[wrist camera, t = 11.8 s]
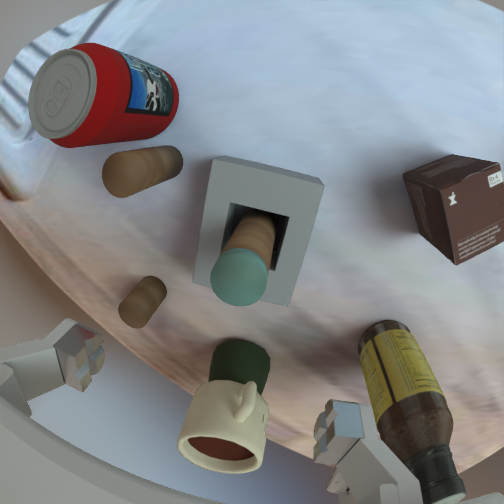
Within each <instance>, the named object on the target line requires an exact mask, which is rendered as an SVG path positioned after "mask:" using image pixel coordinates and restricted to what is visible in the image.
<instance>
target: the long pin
mask: <svg viewBox="0 0 504 504" xmlns="http://www.w3.org/2000/svg"><path fill="white" fill-rule="evenodd" d="M276 228H277V218H276V216H275V214H274V213H272V212H268V211H264V210H260V209H256V208H250V209H248V210H247V211H246V213H245V214H244V216H243V217H242V219H241V221H240V222H239V224H238V226H237V227H236V229H235V231H234V233H233V234H232V236H231V238H230V239H229V241H228V243H227V244H226V246H225V248H224V249H223V251H222V253H221V255H220V256H219V258H218V260H217V261H216V263H215V265H214V266H213V268H212V271H211V274H210V283H211V286H212V289H213V291H214V292H215V294H216V295H217V296H218V297H219V298H220V299H221V300H223V301H224V302H226V303H228V304H231V305H235V306H247V305H250V304H253V303H255V302H256V301H258V300H259V299H260V298H261V297H262V295H263V294H264V292H265V289H266V285H267V279H268V274H269V268H270V262H271V257H272V251H273V245H274V240H275V234H276Z"/></svg>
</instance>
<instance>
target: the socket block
mask: <svg viewBox="0 0 504 504" xmlns="http://www.w3.org/2000/svg"><path fill="white" fill-rule="evenodd" d="M323 190H324V184H323V183H322V181H321V180H320V179H319V178H316V177H313V176H309V175H305V174H301V173H298V172H294V171H290V170H286V169H282V168H278V167H274V166H269V165H265V164H261V163H256V162H252V161H248V160H243V159H238V158H234V157H229V156H222V157H219V158H216V159H213V162H212V167H211V172H210V177H209V183H208V188H207V194H206V199H205V205H204V211H203V217H202V223H201V229H200V235H199V241H198V248H197V254H196V261H195V268H194V275H193V283H197V284H200V285H204V286H208V287H211V288H212V286H211V283H210V274H211V271H212V268H213V266H214V265H215V263H216V261H217V260H218V258H219V256H220V255H221V253H222V251H223V249H224V248H225V246H226V244H227V243H228V241H229V238H230V233H231V228H232V224H233V219H234V214H235V209H236V204H239V205H244V206H248V207H252V208H256V209H260V210H264V211H268V212H272V213H276V214H280V215H284V216H287V218H286V222H285V226H284V229H283V233H282V237H281V241H280V244H279V248H278V252H276V251H272V257H271V262H270V268H269V274H268V279H267V285H266V289H265V292H264V294H263V295H262V297H261V298H260V299H259V300H262V301H266V302H270V303H274V304H278V305H282V306H287V307H288V306H289V303H290V299H291V296H292V293H293V290H294V287H295V284H296V281H297V278H298V275H299V271H300V268H301V265H302V262H303V258H304V255H305V252H306V249H307V245H308V242H309V239H310V235H311V232H312V229H313V225H314V222H315V218H316V215H317V211H318V208H319V204H320V201H321V197H322V193H323Z"/></svg>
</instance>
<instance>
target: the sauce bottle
mask: <svg viewBox="0 0 504 504" xmlns="http://www.w3.org/2000/svg"><path fill="white" fill-rule="evenodd" d="M358 353H359V355H360V363H361V367H362V371H363V374H364V378H365V382H366V386H367V390H368V393H369V397H370V401H371V405H372V409H373V413H374V418H375V422H376V426H377V430H378V432H379V433H380V437H381V440H382V441H383V442H384V443H385V444H386V445H387V446H388V448H389V449H390V450H391V451H392V452H393V453H394V454H395V455H396V456H397V458H398V459H399V460H400V461H401V462H402V463H403V464H404V465H405V466H406V467H407V468H408V470H409V471H410V472H411V473H412V474H413V475H414V476H415V477H416V478H417V479H418V480H419V483H420V489H421V494H422V500H423V504H455V503H458V502H459V501H460V500H462V499H463V498H464V497H465V495H466V490H465V487H464V483H463V481H462V479H461V478H459V477H458V474H457V471H456V468H455V465H454V462H453V459H452V453H451V451H450V447H449V443H450V438H451V434H452V431H453V418H452V415H451V412H450V410H449V409H448V405H447V402H446V399H445V397H444V394H443V392H442V390H441V388H440V386H439V384H438V382H437V380H436V378H435V376H434V374H433V372H432V370H431V368H430V366H429V364H428V362H427V360H426V358H425V356H424V354H423V352H422V351H421V349H420V347H419V345H418V343H417V342H416V340H415V338H414V336H413V335H412V334H411V333H410V330H409V329H408V327H407V326H405V325H404V324H402V323H400V322H396V321H392V320H388V321H383V322H381V323H378V324H376V325H374V326H373V327H371V328H369V329H368V330H367V331H366V332H365V333H364V335H363V337H362V339H361V341H360V344H359V347H358Z"/></svg>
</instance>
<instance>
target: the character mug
mask: <svg viewBox="0 0 504 504" xmlns="http://www.w3.org/2000/svg"><path fill="white" fill-rule="evenodd" d="M269 370H270V357H269V356H268V354H267V353H266V351H265V349H263V348H261V347H259V346H257V345H255V344H253V343H249V342H245V341H241V340H236V341H226V342H224V343H222V344H220V345H218V346H217V348H216V350H215V352H214V353H213V357H212V362H211V366H210V374H209V381H208V382H207V383H204V384H202V385H201V386H200V387H199V388H198V389H197V390H196V392H195V394H194V396H193V399H192V402H191V404H190V407H189V410H188V412H187V415H186V418H185V420H184V423H183V426H182V429H181V431H180V434H179V437H178V441H177V449H178V450H179V452H180V453H181V455H182V456H184V457H185V458H186V459H187V460H189V461H190V462H191V463H193V464H195V465H198V466H200V467H202V468H204V469H207V470H211V471H216V472H220V473H231V474H239V473H248V472H251V471H254V470H256V469H258V468H259V467H260V466H261V464H262V460H263V455H264V447H265V443H266V438H265V429H266V425H267V421H268V417H269V409H268V405H267V403H266V402H265V400H264V399H263V398H262V397H261V395H262V392H263V389H264V386H265V383H266V381H267V377H268V373H269Z"/></svg>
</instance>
